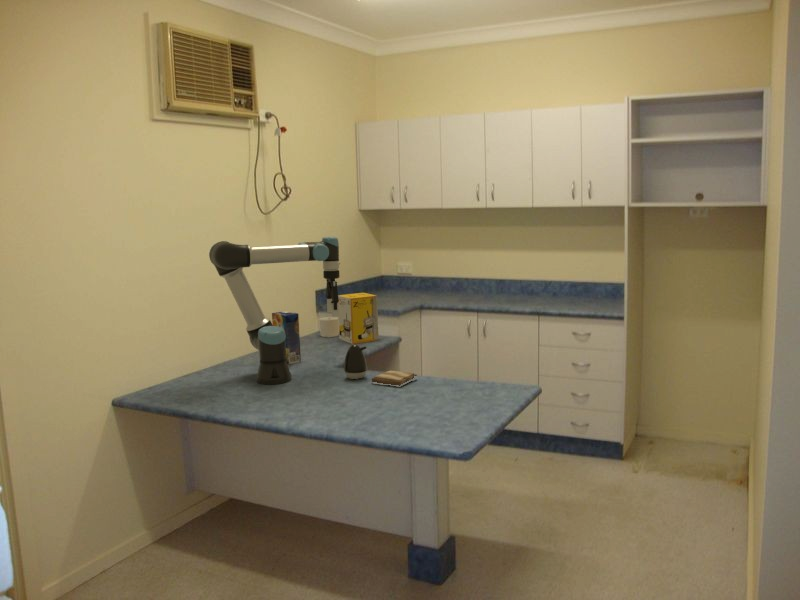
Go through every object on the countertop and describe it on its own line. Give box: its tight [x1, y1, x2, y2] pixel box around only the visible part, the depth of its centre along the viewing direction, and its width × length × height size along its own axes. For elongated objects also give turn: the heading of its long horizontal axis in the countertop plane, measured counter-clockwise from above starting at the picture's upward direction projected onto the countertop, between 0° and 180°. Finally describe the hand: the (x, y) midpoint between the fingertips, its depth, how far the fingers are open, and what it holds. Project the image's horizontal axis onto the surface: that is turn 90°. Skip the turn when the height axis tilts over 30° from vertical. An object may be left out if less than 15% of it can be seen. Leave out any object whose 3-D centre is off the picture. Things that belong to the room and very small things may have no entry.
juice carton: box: [271, 310, 302, 365], centre depth 358 cm, size 12×8×24 cm, turn 43°
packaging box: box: [338, 292, 379, 345], centre depth 405 cm, size 16×16×25 cm
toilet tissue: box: [319, 316, 339, 338], centre depth 420 cm, size 11×12×10 cm
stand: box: [371, 369, 418, 386], centre depth 315 cm, size 14×14×3 cm
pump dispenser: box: [343, 343, 368, 380], centre depth 322 cm, size 10×10×15 cm
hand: (332, 314), depth 345 cm, fingers open, 13 cm apart
